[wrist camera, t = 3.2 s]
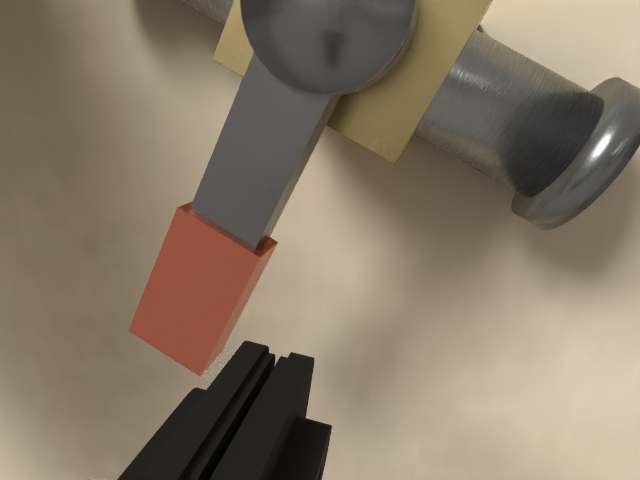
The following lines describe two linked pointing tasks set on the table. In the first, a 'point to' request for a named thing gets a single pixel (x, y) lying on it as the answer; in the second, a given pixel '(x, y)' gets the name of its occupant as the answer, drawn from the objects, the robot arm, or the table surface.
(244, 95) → the valve lever
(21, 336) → the table surface
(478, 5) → the pipe and valve body
